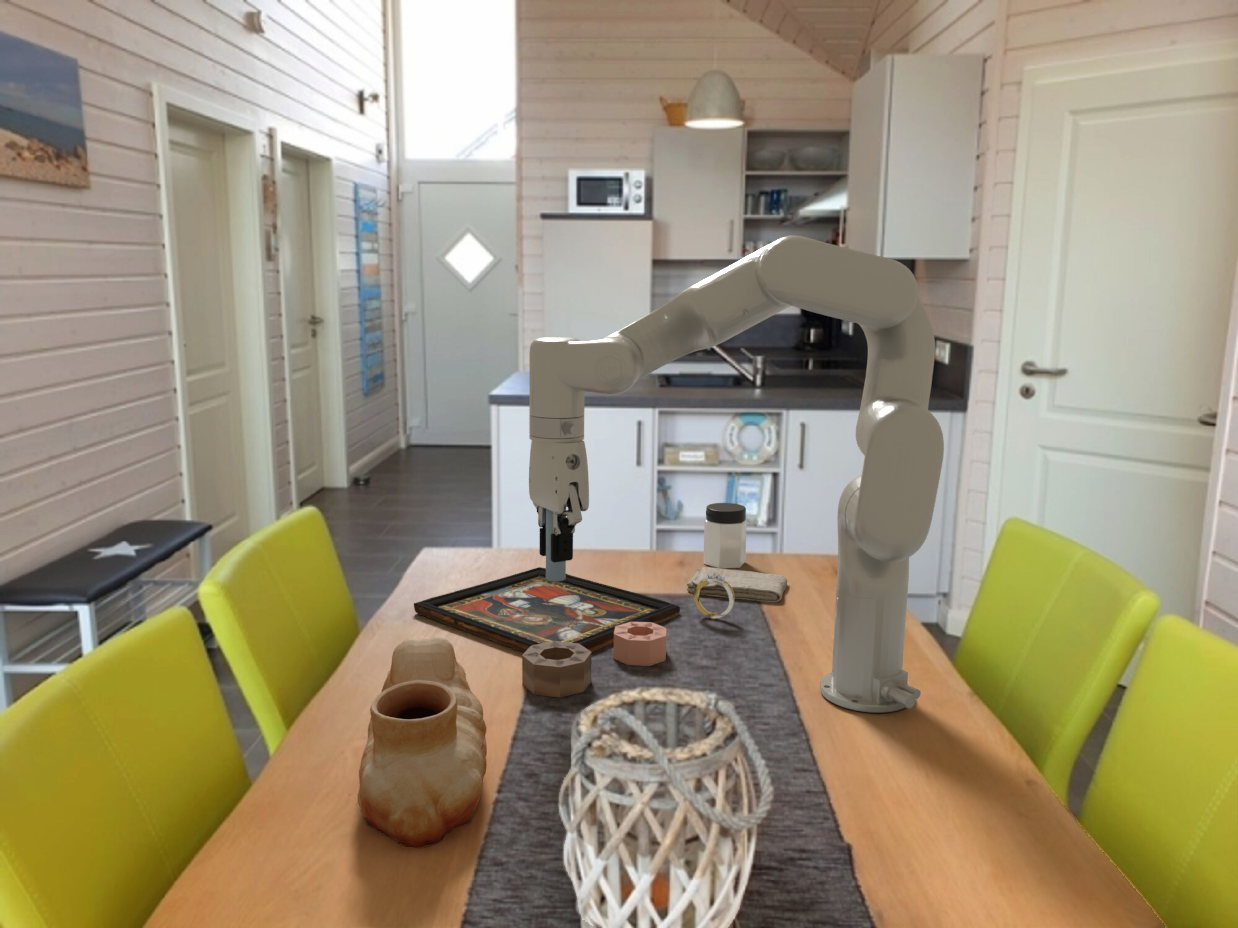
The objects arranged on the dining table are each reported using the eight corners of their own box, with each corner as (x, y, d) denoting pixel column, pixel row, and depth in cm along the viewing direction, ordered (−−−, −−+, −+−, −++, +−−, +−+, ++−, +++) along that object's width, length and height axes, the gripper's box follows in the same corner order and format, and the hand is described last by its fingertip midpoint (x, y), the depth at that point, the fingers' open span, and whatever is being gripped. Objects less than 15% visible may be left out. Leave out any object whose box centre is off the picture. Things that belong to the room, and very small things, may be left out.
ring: (735, 619, 165) (737, 574, 163) (728, 624, 162) (730, 579, 160) (698, 612, 168) (699, 568, 166) (691, 617, 165) (692, 573, 164)
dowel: (569, 579, 134) (569, 496, 132) (551, 582, 133) (551, 498, 130) (559, 574, 136) (560, 492, 134) (542, 576, 135) (542, 494, 133)
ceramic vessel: (486, 731, 123) (484, 620, 120) (488, 848, 97) (486, 711, 94) (376, 737, 121) (371, 625, 118) (348, 859, 95) (342, 719, 92)
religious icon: (691, 610, 171) (692, 595, 170) (576, 675, 142) (576, 657, 141) (526, 574, 191) (525, 560, 191) (395, 624, 162) (395, 607, 162)
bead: (600, 687, 136) (600, 658, 135) (542, 701, 131) (542, 670, 130) (570, 665, 144) (570, 637, 143) (514, 678, 139) (514, 648, 138)
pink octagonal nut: (676, 656, 148) (677, 632, 147) (638, 669, 143) (638, 644, 142) (641, 641, 154) (642, 618, 153) (603, 653, 148) (603, 629, 148)
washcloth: (697, 577, 189) (697, 562, 189) (788, 586, 185) (789, 571, 184) (684, 596, 178) (685, 580, 178) (781, 605, 173) (782, 589, 173)
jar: (710, 555, 203) (712, 500, 201) (748, 559, 201) (750, 504, 199) (699, 566, 195) (701, 509, 193) (738, 571, 192) (740, 513, 190)
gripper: (610, 434, 126) (608, 569, 129) (554, 419, 139) (553, 540, 143) (559, 438, 122) (558, 576, 125) (507, 422, 136) (507, 547, 139)
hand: (556, 556), depth 134 cm, fingers closed on dowel, 2 cm apart
